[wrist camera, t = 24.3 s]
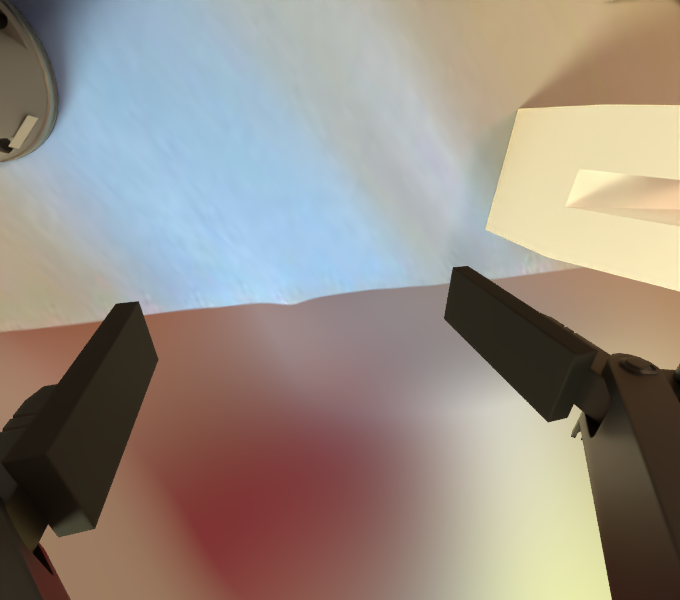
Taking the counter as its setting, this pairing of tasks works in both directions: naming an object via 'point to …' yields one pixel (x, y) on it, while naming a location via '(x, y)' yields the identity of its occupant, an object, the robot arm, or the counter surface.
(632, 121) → the white slotted tapered block
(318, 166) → the counter surface
